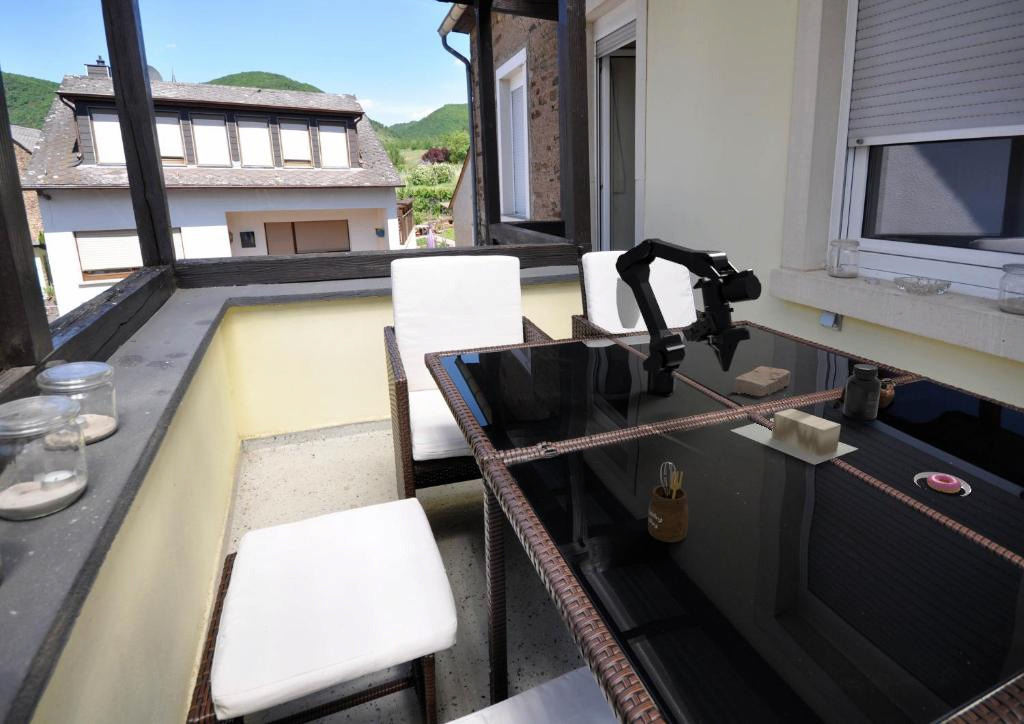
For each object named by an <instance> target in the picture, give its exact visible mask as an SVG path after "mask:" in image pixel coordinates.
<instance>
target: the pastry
mask: <svg viewBox="0 0 1024 724" xmlns="http://www.w3.org/2000/svg"><path fill="white" fill-rule="evenodd" d="M880 382H881V390H880V397H879V404H878V409H884V408H887V407H888V405H890V403H892V401H893V399H894V397H895V395H896V394H895V393H896V392H895V389H894V386H893V385H891V384H887V382H884V381H880ZM845 393H846V385H844V387H843V388H842V391H841V395H840V397H839V398H840V399H839V400H841V401H842V402H844V401H845Z"/></svg>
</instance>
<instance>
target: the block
mask: <svg viewBox="0 0 1024 724" xmlns="http://www.w3.org/2000/svg"><path fill="white" fill-rule="evenodd" d="M773 419H774V420H773V429H772V438H774V439H777V440H779V441H782V442H784V443H787V444H790V445H792V446H795V447H797V448H800V449H802V450H805V451H807V452H810V453H813V454H815V455H818V456H822V455H825V454H828V453H831V452H834V451H837V448H838V442H840V441H839V440H840V432H841V424H840V423H837V422H834V421H831V420H827V419H825V418H821V417H818V416H816V415H812V414H809V413H806V412H803V411H801V410H798V409H794V408H788V409H784V410H781V411H777V412H774V413H773Z"/></svg>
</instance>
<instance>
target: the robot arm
mask: <svg viewBox="0 0 1024 724" xmlns="http://www.w3.org/2000/svg"><path fill="white" fill-rule="evenodd" d="M656 258H659V259H661V260H665V261H668V262H671V263H674V264H678V265H681V266H683V267H685V268H686V269H687V270H688V271H689V272H690V273H691V274H694V275H695V276H697V277H699V278H698V279H697V281H696V283H695V284H694V286H693V287H692V289H693V290H698V289H699V290H700V289H701V297H702V304H703V311H701V313H700V319H696V320H695V321H694V322H693V321H692V322H691V324H689V325H687V326H685V327H682V328H681V333H682V335H683V336H684V338H685V340H686V341H687V342H695V343H701V342H703V341H706V342H707V343H704V346H705V347H708V348H709V349H711V350H712V351H713V353H714V355H715V357H716V359H717V361H718V363H719V366H720V368H721V371H722V372H729V371H730V367H731V364H732V361H733V359H734V355H735V353H736V351H737V348H738V345H739V344H740V343H741V341H747V340H752V339H751V332H750V330H749V329H748V328H747V327H743V326H742V327H741V326H738V327H737V325H736V324H735V325H734V324H733V320H732V318H733V317H732V313H734V312H735V310H734V307H731V304H737V303H742V302H748V301H749V302H750V301H751V302H752V301H757V300H758V299H759V298H760V297H761V294H762V283H761V282H760V279H759V277H758V276H757V275H755V274H754V269H745V270H741V271H738V270H737V268H736V267H735V266H734V265H733V264H732V263H731V262H730V261H729V259H728V257H727V253H725V252H723V251H721V250H710V249H709V250H708V249H707V250H699V249H698V250H697V249H692V248H690V247H686V246H682V245H679V244H676V243H672V242H669V241H665V240H662V239H660V238H658V237H657V238H645V239H644V240H642V241H641V242H640V243H639V244H637V245H636V246H634V247H632V248H631V249H629V250H627V251H626V252H625V253H622V254H620V255H619V256H618V257H617V258H616V263H615V269H616V272H617V273H618V275H619V277H621V279H622V280H623V281H624V282H625V283H626V284H627V285H628V286H630V287H631V289H632V291H633V294H634V297H635V299H636V302H637V304H638V307H639V309H640V312H641V314H640V315H641V316H642V320H643V323H644V324H645V327H646V329H647V332H648V334H649V337H650V339H649V345H648V350H649V354H650V355H648V357H646V359H644V360H643V361H642V362H641V363H642V368H643V369H642V370H643V371H644V372H647V381H646V382H647V383H646V387H647V388H646V389H645V391H644V394H649V395H656V396H664V397H670V396H671V395H672V394H673V393H674V392H675V391H676V385H677V384H676V383H677V375H676V374H675V370H678V369H679V368H680V367H681V363H682V362H683V361H684V359H685V356H686V351H685V348H686V345H684V342H683V341H682V337H681V334H679V333H672V332H671V330H669V328H668V325H667V322H666V321H665V318H664V315H663V313H662V311H661V307H660V305H659V303H658V301H657V298H656V295H655V293H654V290H653V288H652V285H651V283H650V276H651V266H650V265H651V264H653V262H655V260H656ZM730 303H731V304H730Z"/></svg>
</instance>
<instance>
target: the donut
mask: <svg viewBox="0 0 1024 724" xmlns="http://www.w3.org/2000/svg"><path fill="white" fill-rule="evenodd" d="M923 478H926V482H927V485H928V487H930V488H931V489H933V490H935V491H939V492H941V491H942V493H948V494H957V493H959V492H960V491H961V488H962V489H963V490H964V491H965V493H964V494H961V496H962V497H966V496H968V495H969V494H970V493H971V492H972V488H971V486H970V484H969V483H967V482H966V481H964V480H963V479H961V478H958V477H957V476H954V475H952V474H947V473H943V472H938V471H937V472H935V471H924V472H923V471H922V472H920V473H918V474H915V476H914V477H913V481H914V483H915V484H916V485H917V486H918V487H920V485H919V484H918V483H917V482H918V480H919V479H923ZM956 492H957V493H956Z"/></svg>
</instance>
